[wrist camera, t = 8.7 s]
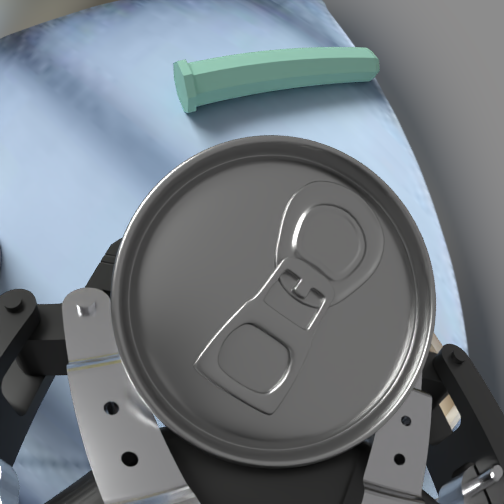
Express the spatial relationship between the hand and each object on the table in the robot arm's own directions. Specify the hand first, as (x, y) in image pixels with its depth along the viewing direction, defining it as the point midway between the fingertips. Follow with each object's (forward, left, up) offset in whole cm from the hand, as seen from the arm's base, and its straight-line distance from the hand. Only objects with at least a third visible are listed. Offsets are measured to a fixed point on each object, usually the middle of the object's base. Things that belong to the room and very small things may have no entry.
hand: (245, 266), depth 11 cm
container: (+21, +14, -15) cm, 30 cm away
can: (-1, -1, -6) cm, 6 cm away
